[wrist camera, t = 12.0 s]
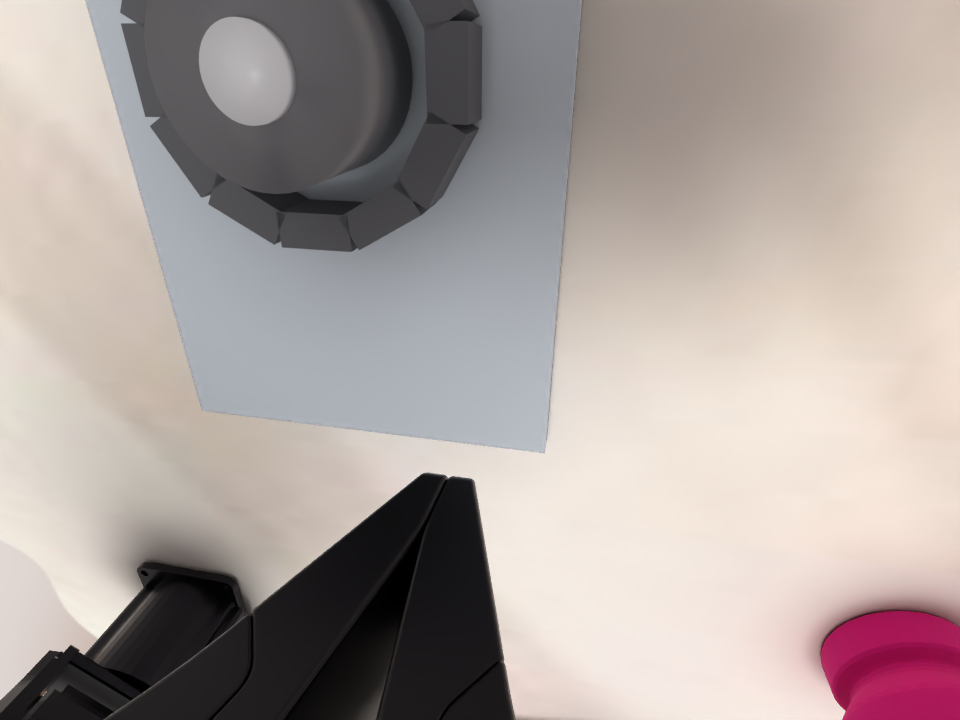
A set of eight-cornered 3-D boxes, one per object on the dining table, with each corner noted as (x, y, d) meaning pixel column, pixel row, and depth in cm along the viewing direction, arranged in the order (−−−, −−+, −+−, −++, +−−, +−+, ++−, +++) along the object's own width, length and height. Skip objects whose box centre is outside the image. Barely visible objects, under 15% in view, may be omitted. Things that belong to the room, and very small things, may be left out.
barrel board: (215, 399, 26) (173, 435, 23) (68, -151, 17) (-31, -192, 14) (546, 439, 23) (540, 484, 21) (597, -188, 14) (597, -246, 11)
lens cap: (258, 170, 19) (174, 196, 15) (214, -36, 16) (97, -68, 13) (420, 170, 18) (371, 198, 14) (402, -52, 15) (336, -91, 11)
